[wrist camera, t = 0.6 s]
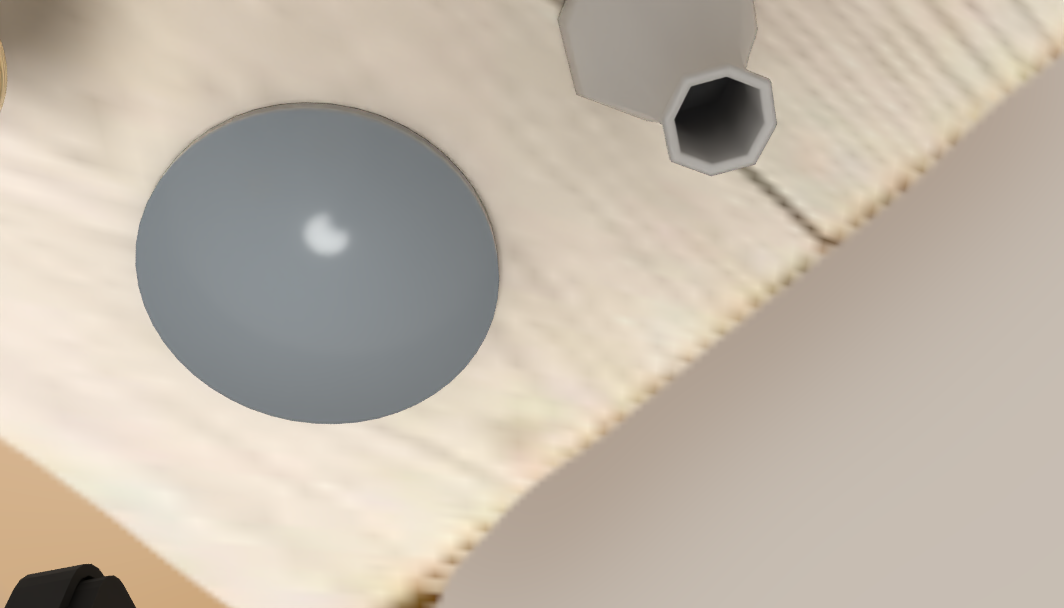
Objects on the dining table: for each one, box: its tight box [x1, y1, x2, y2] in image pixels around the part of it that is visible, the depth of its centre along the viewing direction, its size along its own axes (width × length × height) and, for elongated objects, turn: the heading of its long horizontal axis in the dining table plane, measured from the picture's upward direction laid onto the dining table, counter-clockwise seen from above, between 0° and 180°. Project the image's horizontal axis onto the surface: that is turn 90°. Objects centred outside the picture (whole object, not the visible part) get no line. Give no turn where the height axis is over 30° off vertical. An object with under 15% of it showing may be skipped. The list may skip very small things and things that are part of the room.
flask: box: [558, 0, 777, 176], centre depth 32 cm, size 7×7×10 cm
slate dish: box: [136, 103, 499, 424], centre depth 40 cm, size 14×14×1 cm
